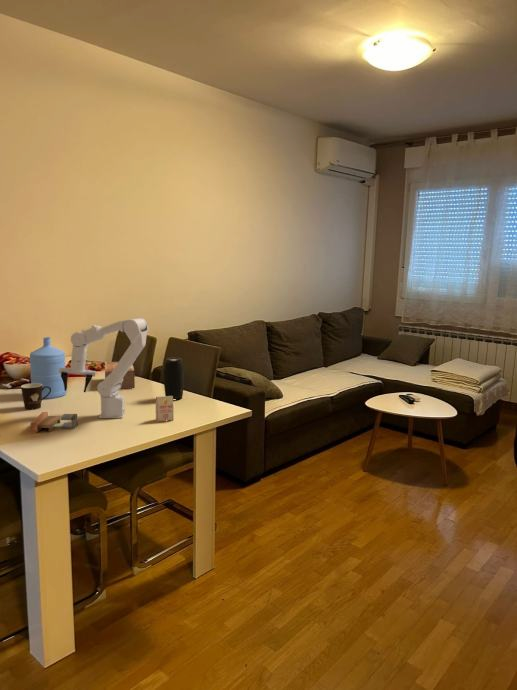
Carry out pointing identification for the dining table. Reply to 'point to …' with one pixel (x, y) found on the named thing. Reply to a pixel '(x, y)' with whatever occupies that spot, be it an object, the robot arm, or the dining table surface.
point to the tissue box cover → (127, 379)
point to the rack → (44, 422)
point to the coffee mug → (33, 395)
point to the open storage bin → (73, 418)
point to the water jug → (48, 369)
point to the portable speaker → (174, 377)
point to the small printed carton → (164, 408)
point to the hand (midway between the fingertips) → (75, 390)
